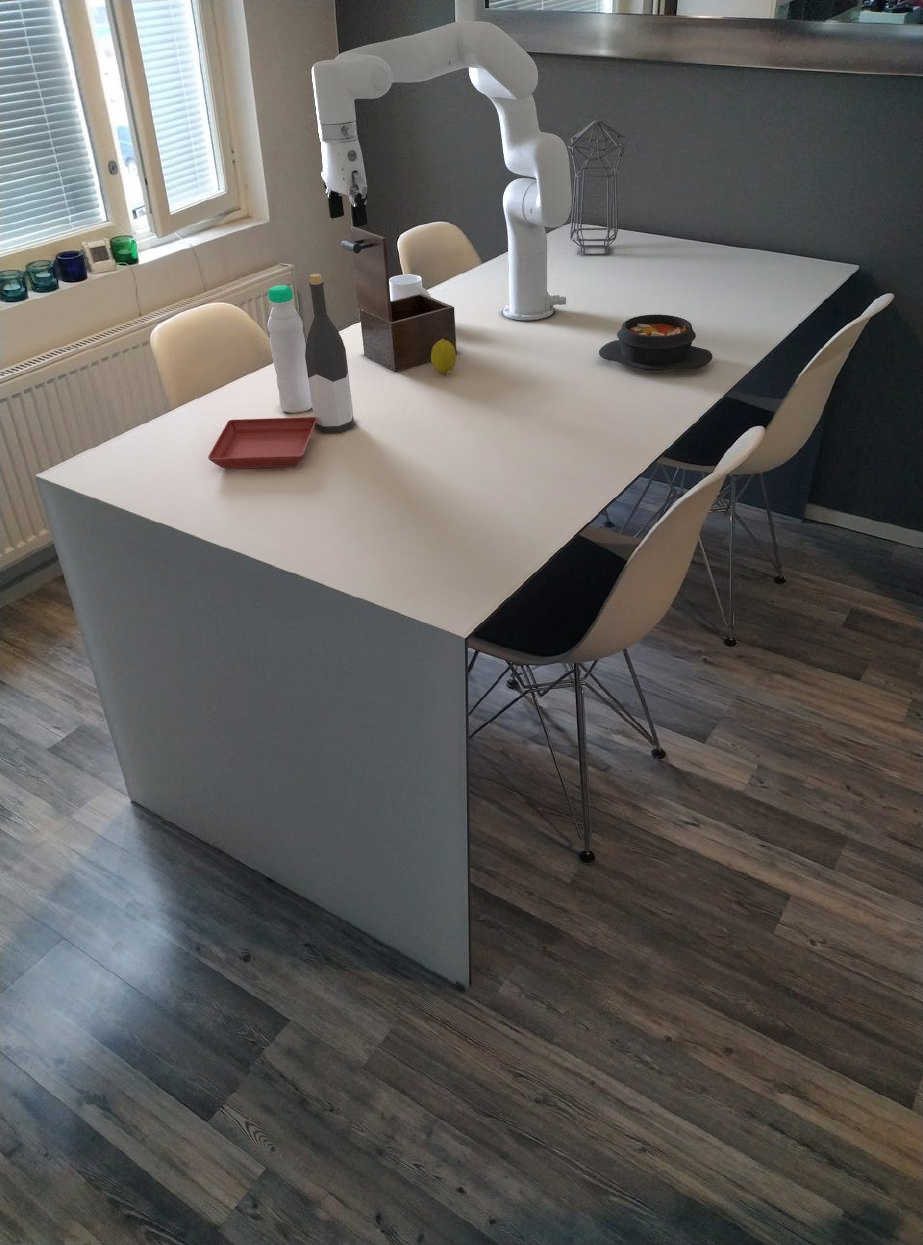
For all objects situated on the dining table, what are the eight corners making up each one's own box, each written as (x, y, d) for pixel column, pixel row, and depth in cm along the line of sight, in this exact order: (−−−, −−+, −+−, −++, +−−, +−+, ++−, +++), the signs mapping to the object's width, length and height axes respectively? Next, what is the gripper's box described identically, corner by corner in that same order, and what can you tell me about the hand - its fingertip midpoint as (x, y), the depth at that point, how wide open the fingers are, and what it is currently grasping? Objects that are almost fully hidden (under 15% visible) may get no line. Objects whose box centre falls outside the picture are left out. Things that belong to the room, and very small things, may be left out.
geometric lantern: (565, 258, 293) (567, 126, 273) (570, 243, 306) (571, 116, 285) (620, 258, 290) (626, 124, 270) (622, 243, 303) (628, 114, 283)
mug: (442, 320, 254) (440, 278, 248) (423, 330, 248) (420, 288, 242) (405, 313, 260) (402, 272, 254) (385, 322, 254) (381, 281, 248)
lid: (352, 225, 220) (330, 230, 217) (385, 237, 210) (362, 242, 208) (360, 306, 230) (339, 312, 227) (392, 321, 220) (370, 327, 218)
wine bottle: (361, 420, 205) (345, 270, 188) (341, 436, 200) (322, 283, 182) (328, 415, 208) (308, 267, 191) (307, 430, 203) (285, 279, 185)
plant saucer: (230, 433, 203) (228, 418, 201) (319, 431, 202) (317, 415, 200) (209, 474, 188) (206, 458, 186) (305, 472, 187) (303, 455, 185)
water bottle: (319, 402, 214) (303, 283, 200) (305, 415, 209) (287, 294, 194) (290, 399, 216) (272, 281, 202) (274, 412, 211) (255, 292, 197)
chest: (424, 338, 243) (420, 293, 237) (456, 353, 234) (454, 306, 228) (364, 355, 236) (359, 309, 230) (395, 371, 226) (391, 324, 220)
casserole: (720, 354, 226) (724, 317, 221) (699, 384, 212) (703, 345, 207) (613, 342, 235) (615, 306, 230) (586, 370, 222) (587, 333, 217)
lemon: (431, 370, 226) (429, 335, 221) (456, 368, 226) (454, 333, 222) (432, 380, 221) (430, 344, 217) (457, 378, 222) (456, 342, 217)
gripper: (376, 133, 196) (385, 225, 206) (333, 123, 208) (344, 210, 218) (342, 139, 193) (353, 232, 203) (301, 129, 205) (313, 217, 215)
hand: (348, 221), depth 210 cm, fingers open, 9 cm apart
